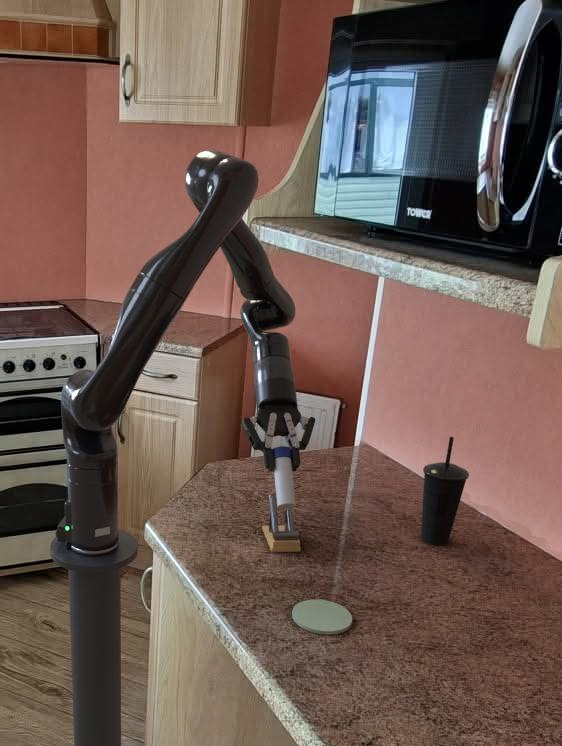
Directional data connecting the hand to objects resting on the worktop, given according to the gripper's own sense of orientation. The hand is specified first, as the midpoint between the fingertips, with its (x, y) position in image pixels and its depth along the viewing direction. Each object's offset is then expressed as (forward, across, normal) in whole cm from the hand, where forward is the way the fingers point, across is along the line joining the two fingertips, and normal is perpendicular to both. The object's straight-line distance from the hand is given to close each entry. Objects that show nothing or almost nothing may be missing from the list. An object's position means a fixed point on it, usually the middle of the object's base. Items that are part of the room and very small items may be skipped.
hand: (283, 469), depth 143 cm
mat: (+29, +1, -11) cm, 31 cm away
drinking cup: (+11, +29, +7) cm, 32 cm away
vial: (+5, 0, +4) cm, 6 cm away
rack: (+11, 0, +7) cm, 13 cm away
